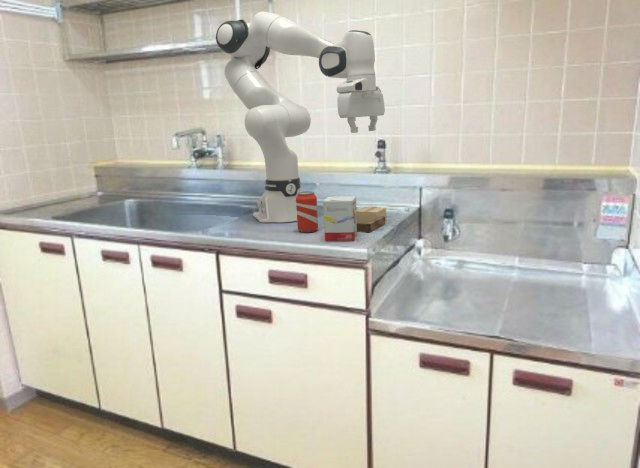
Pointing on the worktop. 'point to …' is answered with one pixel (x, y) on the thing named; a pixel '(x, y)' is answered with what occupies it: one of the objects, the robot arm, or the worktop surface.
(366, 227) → the brown u-shaped frame
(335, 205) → the ink box
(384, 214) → the carton
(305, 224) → the beverage can
